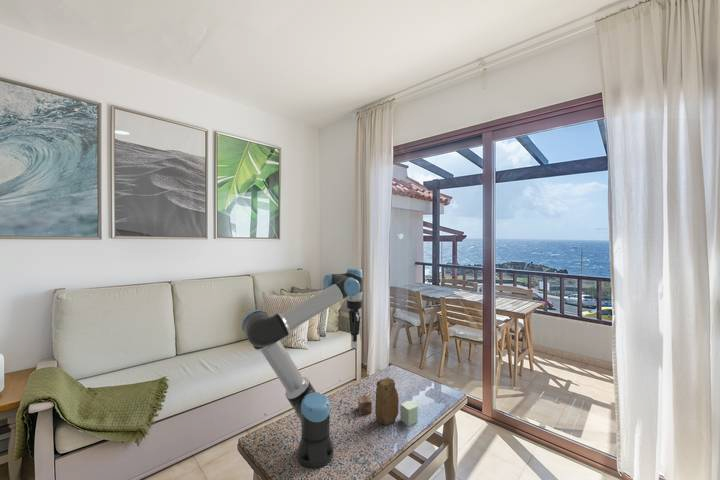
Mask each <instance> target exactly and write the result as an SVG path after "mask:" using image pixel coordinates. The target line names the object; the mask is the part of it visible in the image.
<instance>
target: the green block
mask: <svg viewBox="0 0 720 480" xmlns="http://www.w3.org/2000/svg"><path fill="white" fill-rule="evenodd" d="M399 405H400V406H399V407H400V409H399V411H400V415H399V416H400V417H399V418H400V419H399V420H400V421H401V422H402V423H404V425H406V426H407V427H410V426H412V424H413V425H415V424H417V423H418V422H419V420H418V418H419V417H418V416H419V413H418V411H419V410H418V409H419V406H418V405H417V404H415V403H414V402H413V401H411V400H407V401H405V402H402V403H400V404H399ZM414 423H415V424H414Z"/></svg>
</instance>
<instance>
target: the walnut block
mask: <svg viewBox="0 0 720 480" xmlns="http://www.w3.org/2000/svg"><path fill="white" fill-rule="evenodd" d="M372 403H373V402H372V399H371V395H362V396H361V395H360V396H359V395H358V403H357V404H358V412H359V415H363V414H365V415H366V414H372V409H373V408H372V406H373V405H372Z"/></svg>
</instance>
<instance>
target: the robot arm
mask: <svg viewBox="0 0 720 480" xmlns="http://www.w3.org/2000/svg"><path fill="white" fill-rule="evenodd" d="M322 284H323V287H324V289H323V290H321V291H320V292H319V291H318V293H316V294H314V295H312V296H311V297H309V298H307V299H305V300H304V301H302V302H300V303H299V304H297V305H295V306H292V308H289V309H288V310H286V311H284V312H282V313H280V312H278V313H275V314H274V315H271V316H270V315H269V313H268V312H266V311H264V310H262V309H256V310H255V309H254V310H252V311H249V312H248V313H247V314H245V316H244V318H243V319H242V322H241V323H242V324H241V328H242V332H243V333H244V334H245V336H246V338H247V340H248V342H249V343H250V344H251V345H252V347H253V348H254V350H256V351H260V352H261V353H262V355H263V357H264V358H265V360H266V361H267V362H268V365H269V366H270V367H271V369H272V370H273V372H274V374H275V375H276V376H277V378H278V380H279V381H280V383H281V384H282V386H283V387H284V389H285V394H284V395H285V397H286V399H287V400H288V402H289V404H290V405H291V407H292V409H293V410H294V412H295V413H296V414H297V417H298V418H299V420H300V423H301V437H300V441H299V444H298V447H297V451H296V460H297V461H298V463H299V464H300V465H301V466H302V467H304V468H308V469H309V468H310V469H318V468H321V467H324V466H326V465H328V463H330V462H331V461H332V459H333V458H334V453H335V452H334V450H335V449H334V444H333V441H332V437H331V435H330V427H331V426H330V420H331V419H330V418H331V417H330V416H331V415H330V413H331V405H330V399H329V398H328V397H327V396H326V395H325V394H323V393H320V392H317V391H316V389H315V388H314V386H313V385H312V384H311V381H310V380H309V378H307V377H306V376H303V374H302V373H301V372H300V371H299V368H298V367H297V365H296V364H295V362H294V361H293V359H292V358H291V356H290V355H289V353H288V350H287V349H286V348H285V346H284V345H283V343H282V340H283V339H285V338H287V337H288V336H290V334H291V331H293V330H294V329H296V328H297V327H299V326H300V325H303V324H304V323H306V322H307V321H309V320H311V319H312V318H314V317H316V316H317V315H319V314H321V313H322V312H324V311H325V310H327V309H329V308H330V307H332V306H334V305H335V304H337V303H339V302H341V301H342V300H344V299H346V308H347V309H348V310H349V311H348V323H349V324H348V325H349V331H350V347H351V349H355V348H357V349H358V335H360V327H361V326H360V324H361V319H362V317H361V316H360V311H359V310H360V309H362V307H363V301H362V299H363V295H364V294H363V271H362V269H361V268H356V267H353V268H352V267H350V268H347V270H346V272H345V273H329V274H325V275H324V277H323V279H322Z"/></svg>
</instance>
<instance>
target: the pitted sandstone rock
mask: <svg viewBox="0 0 720 480" xmlns="http://www.w3.org/2000/svg"><path fill="white" fill-rule="evenodd" d="M375 389H376V390H375V406H374V407H375V409H374V411H375V418H376V420H377V421H378V422H379V424H382V425H391V424H392V423H393V422H395V421H396V419H397V417H398V415H399V407H400V406H399V405H400V404H399V403H400V402H399V401H400V400H399V392H398V390H397V388H396V381H395V380H394V379H393V378H391V377H386V378H381V379H378V381H377V382H376V388H375Z"/></svg>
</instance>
